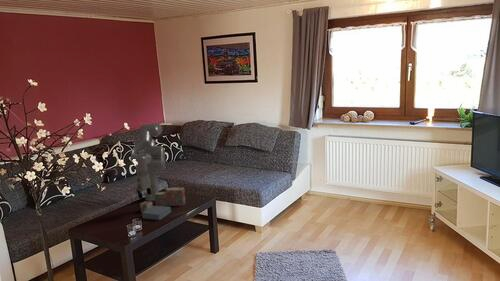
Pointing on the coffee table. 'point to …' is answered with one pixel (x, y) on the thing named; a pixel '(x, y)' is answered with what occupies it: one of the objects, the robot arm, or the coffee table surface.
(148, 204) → the cream block
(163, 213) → the slate base plinth
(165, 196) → the stack of blocks
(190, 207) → the coffee table surface
